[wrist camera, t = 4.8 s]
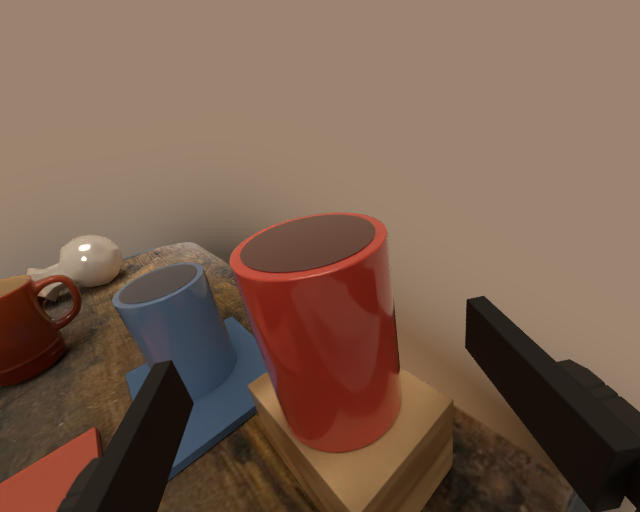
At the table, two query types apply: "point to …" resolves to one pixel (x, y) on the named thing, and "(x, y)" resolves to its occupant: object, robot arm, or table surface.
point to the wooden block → (370, 454)
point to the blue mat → (215, 399)
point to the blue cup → (179, 325)
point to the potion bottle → (81, 265)
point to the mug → (30, 328)
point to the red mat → (49, 476)
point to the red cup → (325, 325)
